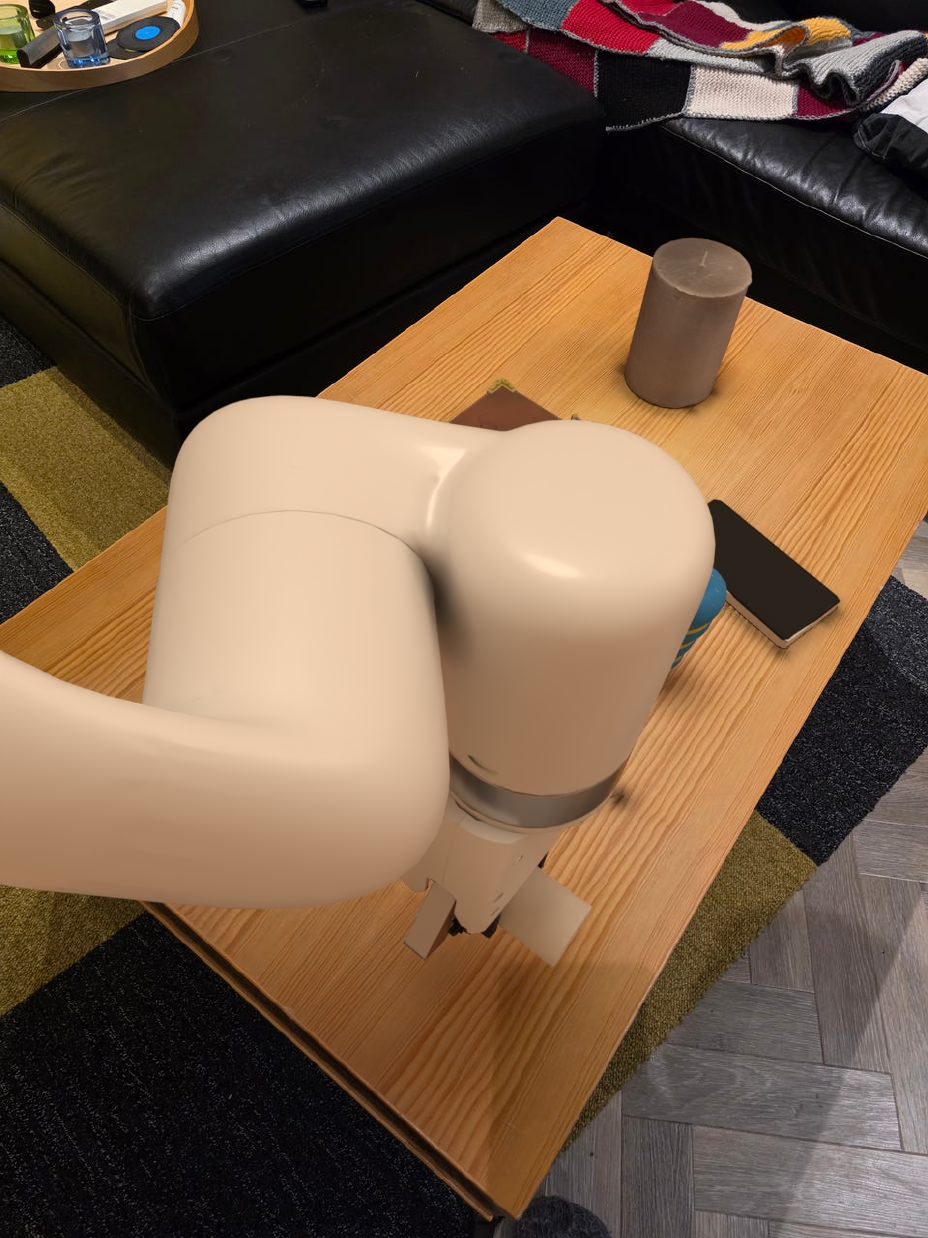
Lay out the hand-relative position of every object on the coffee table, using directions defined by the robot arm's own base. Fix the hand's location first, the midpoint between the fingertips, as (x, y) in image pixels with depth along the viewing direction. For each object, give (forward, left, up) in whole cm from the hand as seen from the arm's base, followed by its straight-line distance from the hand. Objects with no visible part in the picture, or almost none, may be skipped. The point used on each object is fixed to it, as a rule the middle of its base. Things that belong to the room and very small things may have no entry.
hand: (493, 884), depth 47 cm
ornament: (+27, +2, -15) cm, 31 cm away
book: (+38, +20, -15) cm, 46 cm away
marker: (+1, 0, -1) cm, 1 cm away
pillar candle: (+61, +20, -15) cm, 66 cm away
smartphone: (+42, +1, -15) cm, 45 cm away
